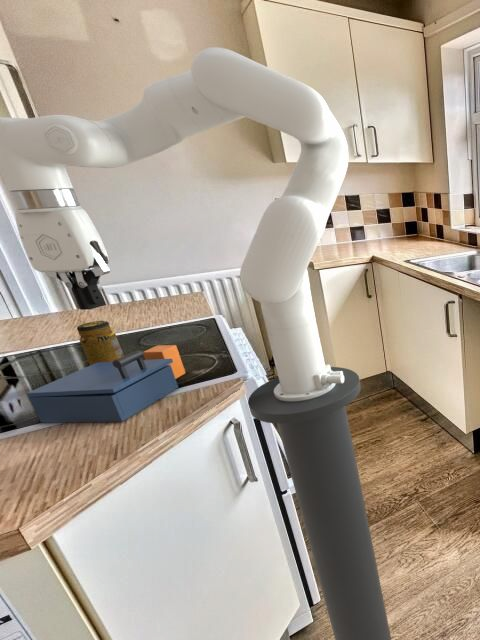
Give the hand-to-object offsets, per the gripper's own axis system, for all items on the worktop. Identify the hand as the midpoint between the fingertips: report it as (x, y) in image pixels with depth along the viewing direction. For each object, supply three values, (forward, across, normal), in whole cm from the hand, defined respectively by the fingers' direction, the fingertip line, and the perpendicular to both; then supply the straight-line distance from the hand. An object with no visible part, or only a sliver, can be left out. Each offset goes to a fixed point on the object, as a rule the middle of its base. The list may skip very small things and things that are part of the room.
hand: (93, 307), depth 77 cm
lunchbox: (+20, -4, 0) cm, 20 cm away
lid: (+14, -3, 0) cm, 15 cm away
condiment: (+20, -18, +15) cm, 30 cm away
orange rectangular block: (+20, -2, +12) cm, 23 cm away
